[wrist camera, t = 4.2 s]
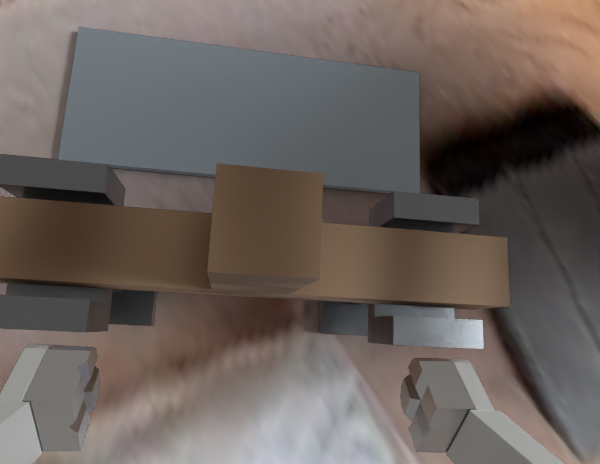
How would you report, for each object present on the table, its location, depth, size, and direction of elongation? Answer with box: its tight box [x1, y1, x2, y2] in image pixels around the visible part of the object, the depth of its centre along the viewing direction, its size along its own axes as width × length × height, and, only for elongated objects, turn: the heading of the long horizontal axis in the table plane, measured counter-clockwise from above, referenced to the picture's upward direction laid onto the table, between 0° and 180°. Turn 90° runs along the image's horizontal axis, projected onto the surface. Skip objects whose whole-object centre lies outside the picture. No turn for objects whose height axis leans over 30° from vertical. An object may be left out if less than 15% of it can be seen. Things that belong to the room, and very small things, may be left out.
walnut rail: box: [0, 163, 510, 309], centre depth 17 cm, size 22×3×9 cm, turn 87°
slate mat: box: [58, 27, 420, 194], centre depth 31 cm, size 23×9×1 cm, turn 87°
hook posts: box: [0, 154, 484, 349], centre depth 24 cm, size 22×7×10 cm, turn 87°
